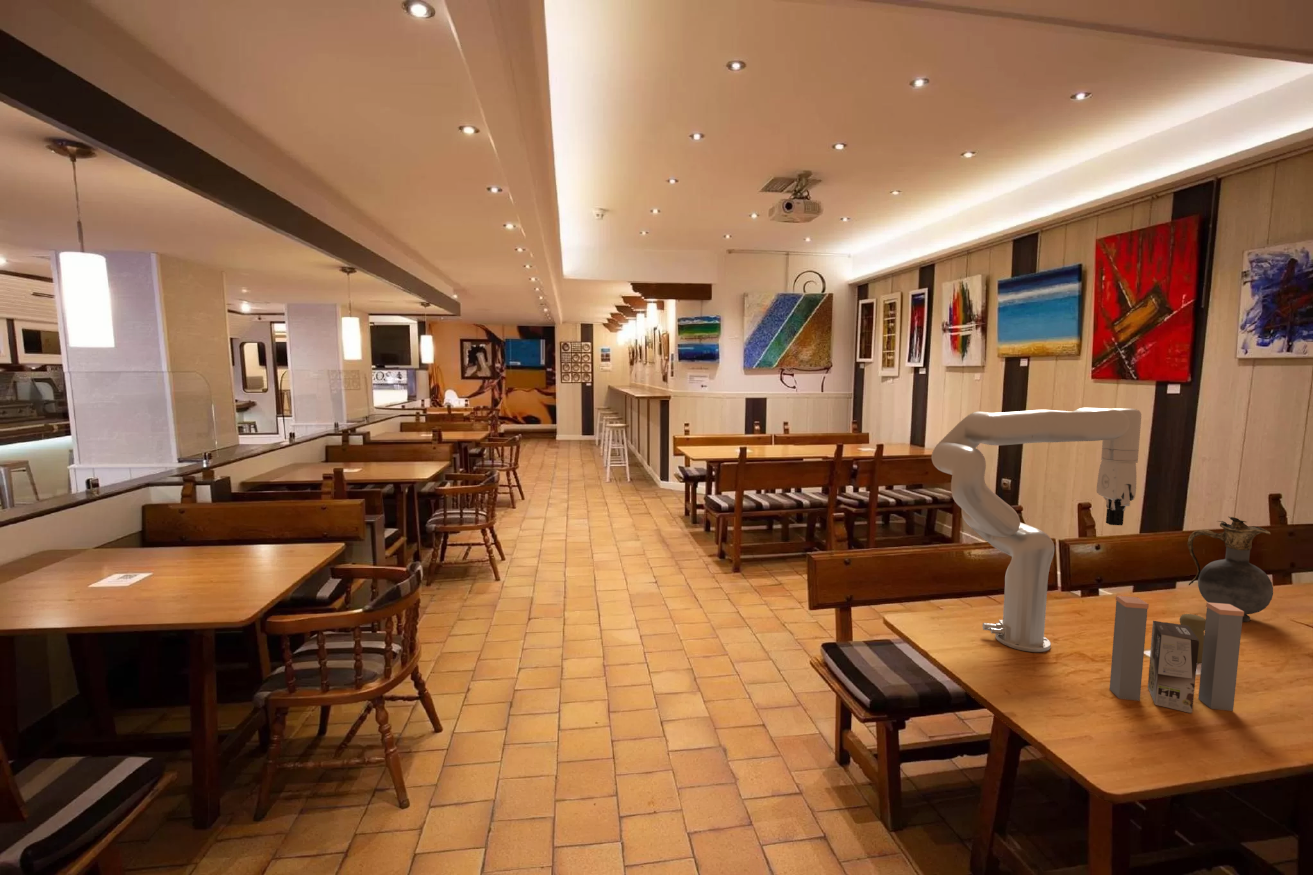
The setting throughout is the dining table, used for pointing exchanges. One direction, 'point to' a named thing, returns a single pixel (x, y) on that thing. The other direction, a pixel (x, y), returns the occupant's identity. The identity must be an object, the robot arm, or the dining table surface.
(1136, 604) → the post near base
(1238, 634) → the post far
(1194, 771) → the dining table surface
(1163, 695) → the coffee box
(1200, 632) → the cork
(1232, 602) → the pitcher
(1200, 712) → the dining table surface
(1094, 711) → the dining table surface
